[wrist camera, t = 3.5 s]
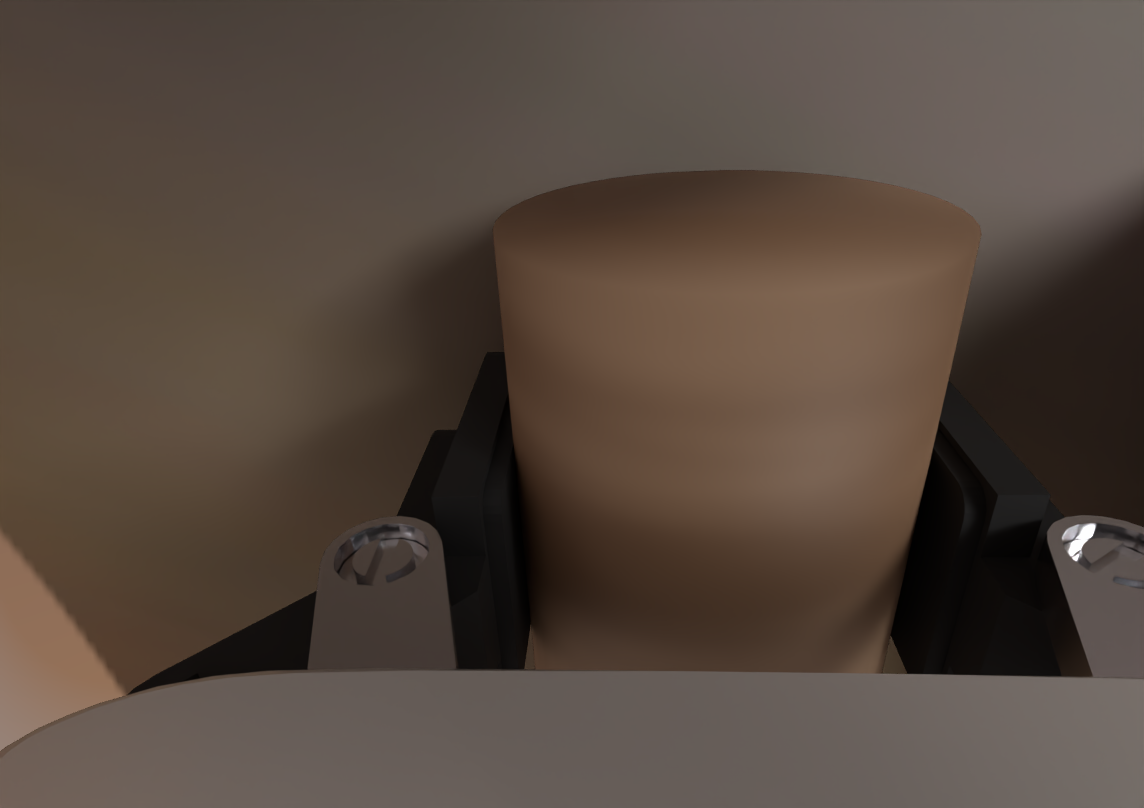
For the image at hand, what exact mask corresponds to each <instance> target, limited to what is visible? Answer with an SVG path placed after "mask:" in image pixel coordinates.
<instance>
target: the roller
mask: <svg viewBox="0 0 1144 808" xmlns="http://www.w3.org/2000/svg"><path fill="white" fill-rule="evenodd" d="M493 238H494V248H495V259H496V269H497V279H498V290H499V300H500V310H501V320H502V331H503V341H504V351H505V362H506V372H507V382H508V392H509V403H510V413H511V423H512V434H513V444H514V454H515V464H516V475H517V485H518V495H519V506H520V516H521V526H522V536H523V547H524V557H525V567H526V578H527V588H528V598H529V608H530V619H531V629H532V639H533V650H534V660H535V669H538V670H634V671H708V672H791V673H868V674H882V670H883V666H884V662H885V657H886V653H887V648H888V644H889V640H890V635H891V631H892V626H893V622H894V618H895V613H896V609H897V604H898V600H899V596H900V591H901V587H902V582H903V578H904V574H905V569H906V565H907V560H908V556H909V552H910V547H911V543H912V538H913V534H914V530H915V525H916V521H917V516H918V512H919V508H920V503H921V499H922V494H923V490H924V486H925V481H926V477H927V472H928V468H929V463H930V459H931V455H932V450H933V446H934V441H935V437H936V433H937V428H938V424H939V419H940V415H941V411H942V406H943V402H944V397H945V393H946V389H947V384H948V380H949V375H950V371H951V367H952V362H953V358H954V353H955V349H956V345H957V340H958V336H959V331H960V327H961V323H962V318H963V314H964V309H965V305H966V301H967V296H968V292H969V287H970V283H971V279H972V274H973V270H974V265H975V261H976V256H977V252H978V248H979V243H980V239H981V230H980V226H979V224H978V223H977V222H976V220H975V219H974V218H973V217H972V216H971V215H969V214H968V213H967V212H965V211H964V210H963V209H961V208H959V207H957V206H955V205H953V204H951V203H949V202H947V201H944V200H942V199H939V198H936V197H934V196H931V195H928V194H924V193H921V192H918V191H915V190H911V189H907V188H902V187H898V186H894V185H889V184H884V183H879V182H874V181H868V180H861V179H855V178H848V177H840V176H831V175H822V174H810V173H798V172H781V171H755V170H718V171H689V172H668V173H655V174H644V175H634V176H627V177H619V178H611V179H605V180H599V181H593V182H588V183H583V184H578V185H573V186H569V187H565V188H561V189H557V190H554V191H550V192H547V193H544V194H541V195H538V196H535V197H533V198H530V199H528V200H525V201H523V202H521V203H519V204H517V205H515V206H513V207H511V208H510V209H509V210H507V211H506V212H504V213H503V214H502V215H501V216H500V217H499V218H498V219H497V220H496V222H495V224H494V227H493Z"/></svg>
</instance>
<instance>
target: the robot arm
mask: <svg viewBox="0 0 1144 808" xmlns="http://www.w3.org/2000/svg"><path fill="white" fill-rule="evenodd" d="M1049 498H1050V493H1049V492H1048V491H1047V490H1046V489H1045V488H1044V487H1043V486H1042V485H1041V483H1040V482H1039V481H1038V480H1037V479H1036V478H1035V477H1034V476H1033V474H1032V473H1031V472H1030V471H1029V470H1028V469H1027V468H1026V467H1025V466H1024V464H1023V463H1022V462H1021V461H1020V460H1019V459H1018V458H1017V457H1016V455H1015V454H1014V453H1013V452H1012V451H1011V450H1010V449H1009V448H1008V446H1007V445H1006V444H1005V443H1004V442H1003V441H1002V440H1001V439H1000V438H999V436H998V435H997V434H996V433H995V432H994V431H993V430H992V429H991V427H990V426H989V425H988V424H987V423H986V422H985V421H984V420H983V418H982V417H981V416H980V415H979V414H978V413H977V412H976V411H975V410H974V408H973V407H972V406H971V405H970V404H969V403H968V402H967V401H966V399H965V398H964V397H963V396H962V395H961V394H960V393H959V392H958V390H957V389H956V388H955V387H954V386H953V385H952V384H951V383H950V382H949V380H948V384H947V389H946V393H945V397H944V402H943V406H942V411H941V415H940V419H939V424H938V428H937V433H936V437H935V441H934V446H933V450H932V455H931V459H930V463H929V468H928V472H927V477H926V481H925V486H924V490H923V494H922V499H921V503H920V508H919V512H918V516H917V521H916V525H915V530H914V534H913V538H912V543H911V547H910V552H909V556H908V560H907V565H906V569H905V574H904V578H903V582H902V587H901V591H900V596H899V600H898V604H897V609H896V613H895V618H894V622H893V626H892V631H891V637H892V639H893V641H894V644H895V646H896V648H897V651H898V653H899V655H900V657H901V660H902V662H903V664H904V667H905V669H906V671H907V674H868V673H791V672H708V671H634V670H538V669H524V666H525V659H526V652H527V645H528V638H529V631H530V624H531V619H530V608H529V598H528V588H527V578H526V567H525V557H524V547H523V536H522V526H521V516H520V506H519V495H518V485H517V475H516V464H515V454H514V444H513V434H512V423H511V413H510V403H509V392H508V382H507V372H506V362H505V352H487V354H486V356H485V358H484V361H483V364H482V366H481V369H480V371H479V374H478V377H477V379H476V382H475V384H474V387H473V390H472V392H471V395H470V397H469V400H468V403H467V405H466V408H465V411H464V413H463V416H462V418H461V421H460V424H459V426H458V429H457V430H436V431H435V432H434V433H433V435H432V437H431V439H430V441H429V444H428V446H427V448H426V450H425V453H424V455H423V457H422V460H421V462H420V464H419V466H418V469H417V471H416V473H415V476H414V478H413V480H412V482H411V485H410V487H409V489H408V492H407V494H406V496H405V498H404V501H403V503H402V505H401V508H400V510H399V512H398V514H397V516H394V517H382V518H378V519H374V520H370V521H367V522H363V523H361V524H359V525H357V526H355V527H353V528H350V529H348V530H347V531H345V532H344V533H343V534H341V535H340V536H338V537H337V538H336V539H334V540H333V542H332V543H331V544H330V545H329V546H328V548H327V549H326V550H325V551H324V554H323V557H322V560H321V562H320V568H319V577H318V585H317V591H315V592H314V593H312V594H310V595H308V596H306V597H304V598H302V599H300V600H298V601H296V602H294V603H292V604H291V605H289V606H287V607H285V608H283V609H281V610H279V611H277V612H275V613H273V614H271V615H269V616H268V617H266V618H264V619H262V620H260V621H258V622H256V623H254V624H252V625H250V626H248V627H246V628H245V629H243V630H241V631H239V632H237V633H235V634H233V635H231V636H229V637H227V638H225V639H223V640H222V641H220V642H218V643H216V644H214V645H212V646H210V647H208V648H206V649H204V650H202V651H200V652H199V653H197V654H195V655H193V656H191V657H189V658H187V659H185V660H183V661H181V662H179V663H177V664H176V665H174V666H172V667H170V668H168V669H166V670H164V671H162V672H160V673H158V674H156V675H155V676H153V677H151V678H150V679H148V680H147V681H145V682H144V683H142V684H140V685H139V686H137V687H136V688H134V689H133V690H132V691H131V692H130V693H129V694H128V695H126V696H123V697H119V698H116V699H113V700H109V701H106V702H102V703H99V704H96V705H93V706H91V707H88V708H85V709H83V710H80V711H78V712H75V713H72V714H70V715H67V716H65V717H63V718H61V719H58V720H56V721H54V722H51V723H49V724H47V725H45V726H43V727H40V728H38V729H36V730H34V731H33V732H31V733H29V734H27V735H25V736H24V737H22V738H21V739H19V740H17V741H15V742H13V743H12V744H10V745H8V746H7V747H5V748H4V749H2V750H1V751H0V808H1144V527H1141V526H1138V525H1135V524H1133V523H1130V522H1127V521H1123V520H1118V519H1113V518H1109V517H1104V516H1090V515H1079V516H1071V517H1064V516H1063V515H1062V514H1061V513H1060V511H1059V510H1058V509H1057V508H1056V507H1055V506H1054V505H1053V503H1052V502H1051V501H1050V500H1049Z"/></svg>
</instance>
